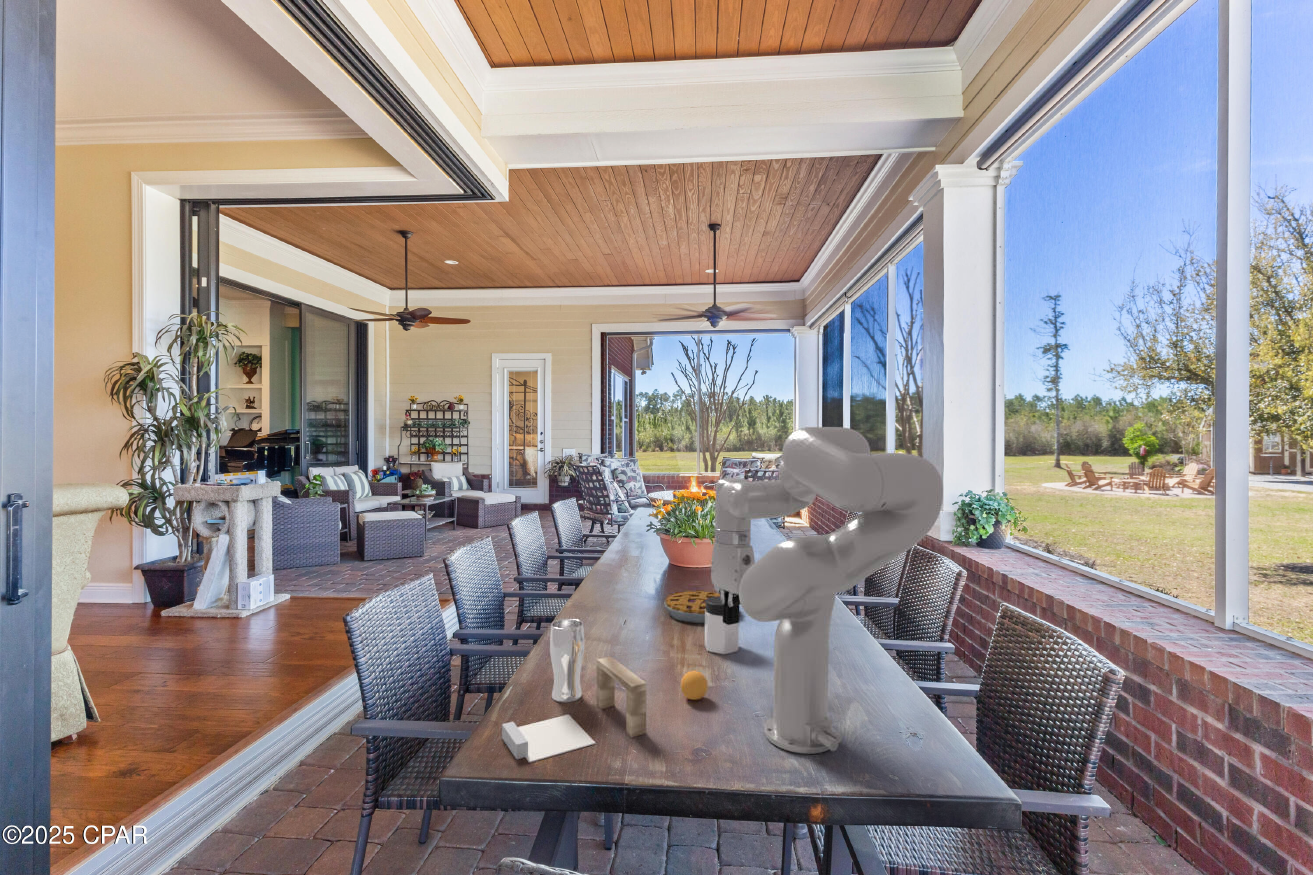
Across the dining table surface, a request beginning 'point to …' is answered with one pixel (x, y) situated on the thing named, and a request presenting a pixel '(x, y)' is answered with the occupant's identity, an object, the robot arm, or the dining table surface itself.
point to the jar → (719, 629)
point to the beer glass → (567, 658)
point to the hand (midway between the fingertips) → (730, 622)
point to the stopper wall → (515, 740)
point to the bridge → (634, 699)
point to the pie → (689, 605)
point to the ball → (694, 685)
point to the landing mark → (554, 737)
